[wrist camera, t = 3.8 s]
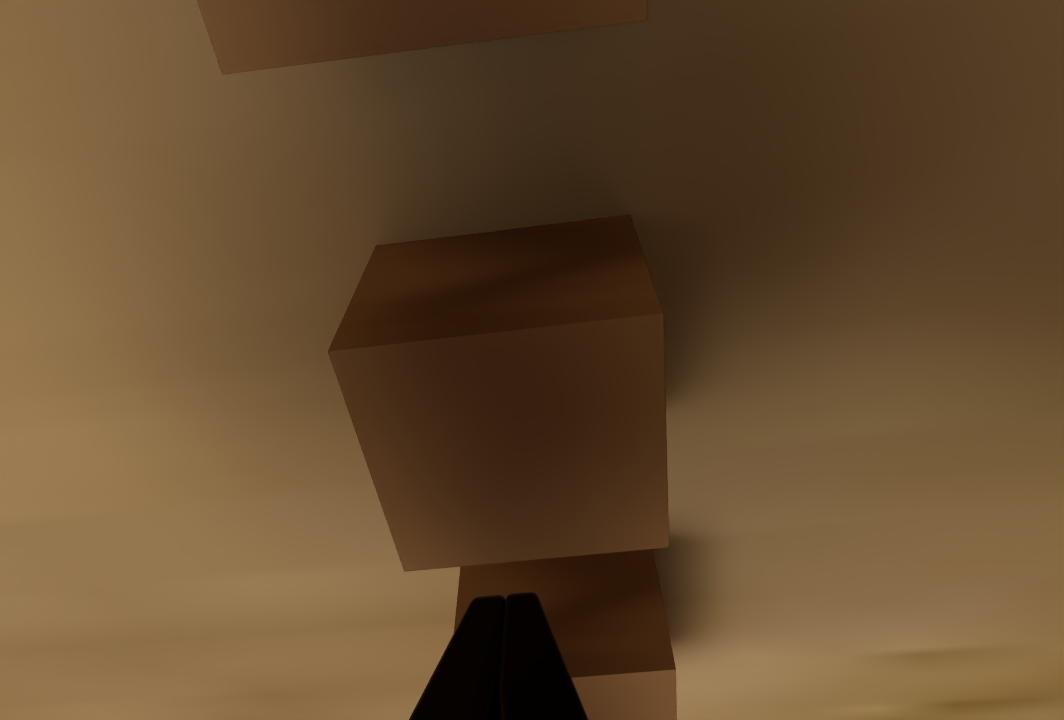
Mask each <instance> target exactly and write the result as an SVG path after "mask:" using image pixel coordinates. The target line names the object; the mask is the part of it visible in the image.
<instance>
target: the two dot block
mask: <svg viewBox="0 0 1064 720" xmlns="http://www.w3.org/2000/svg"><path fill="white" fill-rule="evenodd" d="M197 2H198V5H199V8H200V11H201V14H202V16H203V19H204V22H205V25H206V28H207V31H208V34H209V37H210V40H211V43H212V46H213V49H214V51H215V54H216V57H217V60H218V63H219V66H220V69H221V72H222V74H230V73H238V72H246V71H254V70H261V69H269V68H277V67H285V66H293V65H301V64H308V63H316V62H324V61H332V60H340V59H347V58H355V57H363V56H371V55H379V54H387V53H394V52H402V51H410V50H418V49H426V48H433V47H441V46H449V45H457V44H465V43H473V42H480V41H488V40H496V39H504V38H512V37H519V36H527V35H535V34H543V33H551V32H559V31H566V30H574V29H582V28H590V27H598V26H605V25H613V24H621V23H629V22H637V21H645V20H647V6H646V0H197Z"/></svg>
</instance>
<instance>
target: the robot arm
mask: <svg viewBox="0 0 1064 720" xmlns="http://www.w3.org/2000/svg"><path fill="white" fill-rule="evenodd" d="M409 720H589V719H588V717H587V714H586V712H585V710H584V707H583V705H582V702H581V700H580V697H579V695H578V692H577V690H576V688H575V685H574V683H573V680H572V678H571V675H570V673H569V670H568V668H567V666H566V663H565V661H564V658H563V656H562V653H561V651H560V648H559V646H558V644H557V641H556V639H555V636H554V634H553V631H552V629H551V626H550V624H549V622H548V619H547V617H546V614H545V612H544V609H543V607H542V604H541V602H540V600H539V597H538V595H537V594H536V593H534V592H524V593H513V594H509V595H507V596H506V598H504V596H502V595H491V596H481V597H476V598H474V599H473V600H472V601H471V602H470V604H469V606H468V608H467V610H466V611H465V613H464V615H463V617H462V619H461V621H460V623H459V625H458V627H457V629H456V631H455V633H454V634H453V636H452V638H451V640H450V642H449V644H448V646H447V648H446V650H445V652H444V654H443V655H442V657H441V659H440V661H439V663H438V665H437V667H436V669H435V671H434V673H433V675H432V677H431V678H430V680H429V682H428V684H427V686H426V688H425V690H424V692H423V694H422V696H421V698H420V699H419V701H418V703H417V705H416V707H415V709H414V711H413V713H412V715H411V717H410V719H409Z"/></svg>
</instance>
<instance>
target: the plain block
mask: <svg viewBox="0 0 1064 720" xmlns="http://www.w3.org/2000/svg"><path fill="white" fill-rule="evenodd" d="M328 353H329V356H330V359H331V362H332V365H333V368H334V370H335V373H336V376H337V379H338V382H339V385H340V388H341V391H342V393H343V396H344V399H345V402H346V405H347V408H348V411H349V414H350V416H351V419H352V422H353V425H354V428H355V431H356V434H357V437H358V439H359V442H360V445H361V448H362V451H363V454H364V457H365V460H366V463H367V465H368V468H369V471H370V474H371V477H372V480H373V483H374V486H375V488H376V491H377V494H378V497H379V500H380V503H381V506H382V509H383V511H384V514H385V517H386V520H387V523H388V526H389V529H390V532H391V534H392V537H393V540H394V543H395V546H396V549H397V552H398V555H399V557H400V560H401V563H402V566H403V569H404V572H405V571H416V570H427V569H438V568H449V567H460V566H471V565H482V564H493V563H504V562H514V561H525V560H536V559H547V558H558V557H569V556H580V555H591V554H602V553H613V552H624V551H635V550H646V549H657V548H668V547H669V522H668V480H667V439H666V398H665V356H664V315H663V311H662V308H661V305H660V302H659V299H658V296H657V293H656V290H655V287H654V284H653V281H652V279H651V276H650V273H649V270H648V267H647V264H646V261H645V258H644V255H643V252H642V249H641V246H640V244H639V241H638V238H637V235H636V232H635V229H634V226H633V223H632V220H631V217H630V215H624V216H615V217H607V218H599V219H591V220H583V221H575V222H567V223H558V224H550V225H542V226H534V227H526V228H518V229H509V230H501V231H493V232H485V233H477V234H469V235H460V236H452V237H444V238H436V239H428V240H420V241H412V242H403V243H395V244H387V245H379V246H376V247H375V249H374V251H373V253H372V255H371V258H370V260H369V262H368V264H367V266H366V269H365V271H364V273H363V275H362V277H361V280H360V282H359V284H358V286H357V288H356V291H355V293H354V295H353V297H352V299H351V302H350V304H349V306H348V308H347V310H346V313H345V315H344V317H343V319H342V322H341V324H340V326H339V328H338V330H337V333H336V335H335V337H334V339H333V341H332V344H331V346H330V348H329V350H328Z"/></svg>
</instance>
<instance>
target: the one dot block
mask: <svg viewBox="0 0 1064 720" xmlns="http://www.w3.org/2000/svg"><path fill="white" fill-rule="evenodd" d="M524 592H534V593H536V594H537V595H538V597H539V600H540V602H541V604H542V607H543V609H544V612H545V614H546V617H547V619H548V622H549V624H550V626H551V629H552V631H553V634H554V636H555V639H556V641H557V644H558V646H559V648H560V651H561V653H562V656H563V658H564V661H565V663H566V666H567V668H568V670H569V673H570V675H571V678H572V680H573V683H574V685H575V688H576V690H577V692H578V695H579V697H580V700H581V702H582V705H583V707H584V710H585V712H586V714H587V717H588V719H589V720H677V703H676V668H675V663H674V658H673V653H672V647H671V642H670V637H669V632H668V627H667V622H666V617H665V612H664V607H663V602H662V597H661V592H660V587H659V582H658V577H657V572H656V567H655V562H654V556H653V551H652V549H646V550H635V551H624V552H613V553H602V554H591V555H580V556H569V557H558V558H547V559H536V560H525V561H514V562H504V563H493V564H482V565H471V566H461V568H460V577H459V587H458V597H457V607H456V617H455V627H454V633H455V631H456V629H457V627H458V625H459V623H460V621H461V619H462V617H463V615H464V613H465V611H466V610H467V608H468V606H469V604H470V602H471V601H472V600H473V599H474V598H476V597H481V596H491V595H502V596H504V598H506V596H507V595H509V594H513V593H524Z"/></svg>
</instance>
